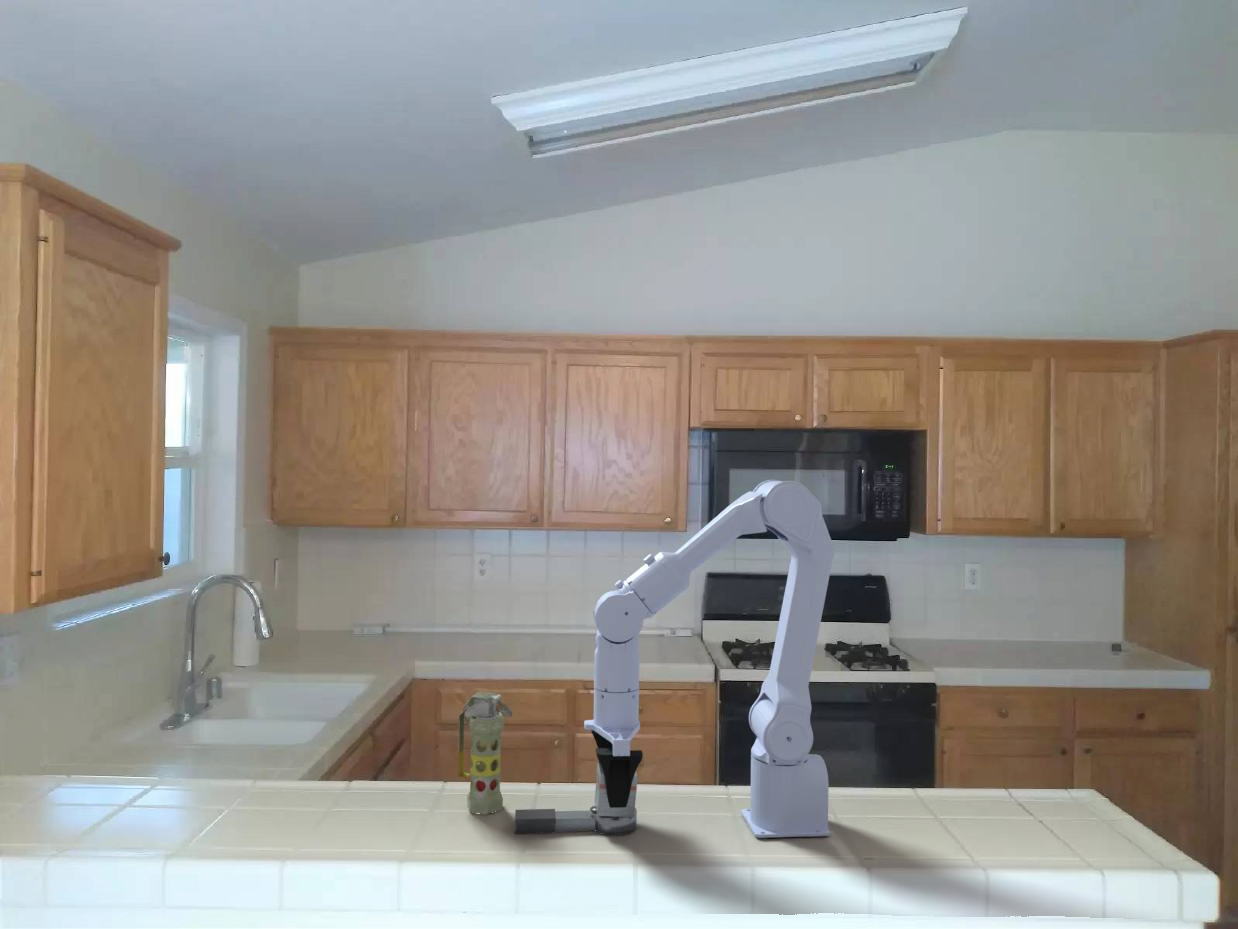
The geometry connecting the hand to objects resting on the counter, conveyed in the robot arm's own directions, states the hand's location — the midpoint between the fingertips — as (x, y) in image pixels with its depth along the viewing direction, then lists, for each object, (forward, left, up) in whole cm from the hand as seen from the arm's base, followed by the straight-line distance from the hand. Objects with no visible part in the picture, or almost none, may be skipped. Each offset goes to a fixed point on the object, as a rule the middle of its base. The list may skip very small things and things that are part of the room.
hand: (614, 794), depth 109 cm
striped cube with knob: (0, 0, -2) cm, 2 cm away
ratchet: (+5, 0, -4) cm, 6 cm away
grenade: (+17, -8, -4) cm, 19 cm away
